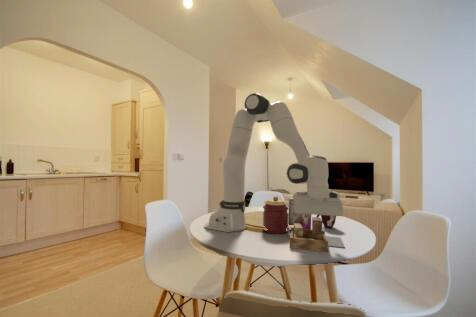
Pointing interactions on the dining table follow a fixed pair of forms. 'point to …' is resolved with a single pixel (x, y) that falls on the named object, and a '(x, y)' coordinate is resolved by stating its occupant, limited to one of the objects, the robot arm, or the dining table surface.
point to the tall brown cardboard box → (316, 228)
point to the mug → (327, 218)
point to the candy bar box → (298, 217)
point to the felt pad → (335, 242)
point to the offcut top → (298, 229)
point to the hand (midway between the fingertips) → (317, 224)
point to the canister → (275, 216)
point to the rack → (308, 241)
